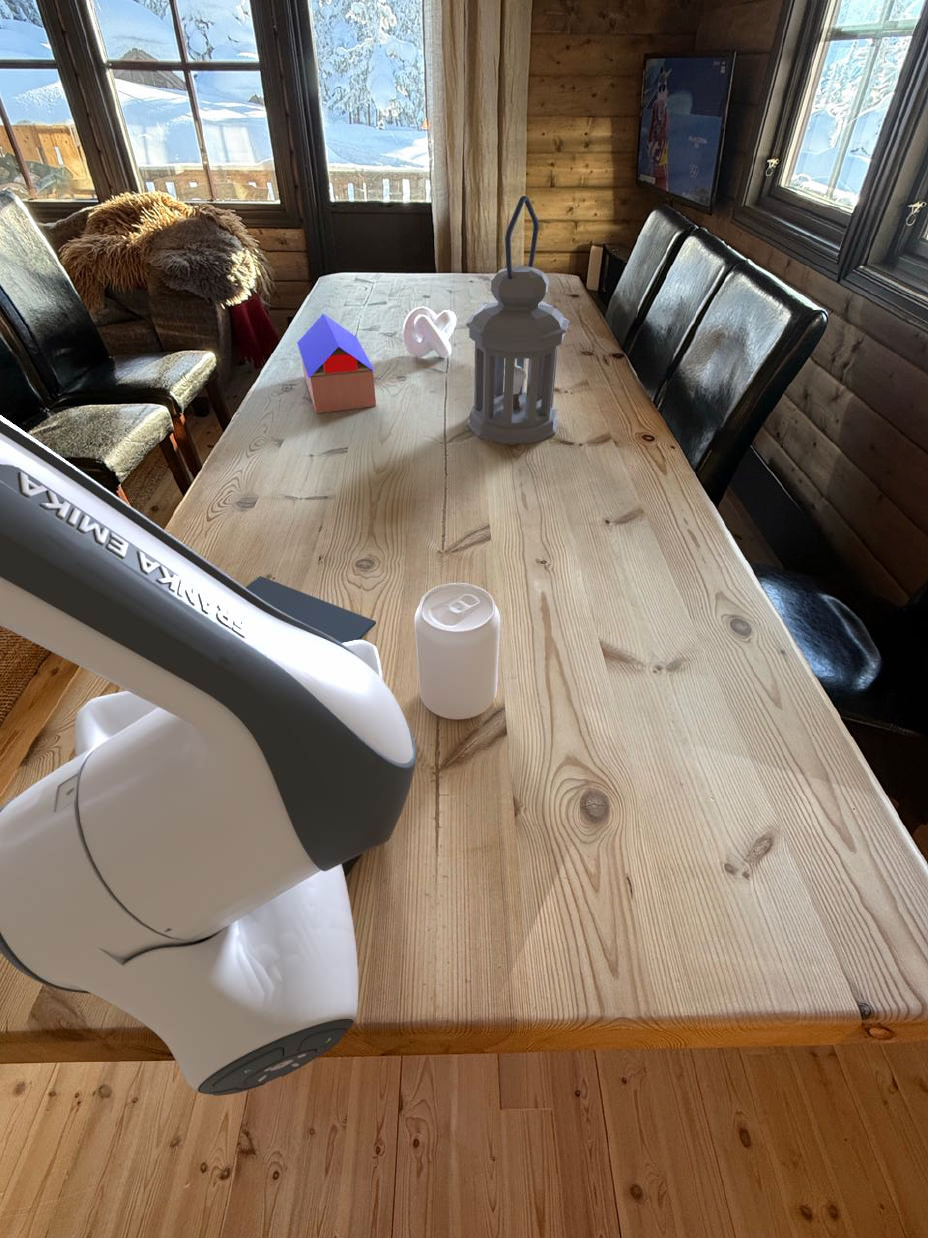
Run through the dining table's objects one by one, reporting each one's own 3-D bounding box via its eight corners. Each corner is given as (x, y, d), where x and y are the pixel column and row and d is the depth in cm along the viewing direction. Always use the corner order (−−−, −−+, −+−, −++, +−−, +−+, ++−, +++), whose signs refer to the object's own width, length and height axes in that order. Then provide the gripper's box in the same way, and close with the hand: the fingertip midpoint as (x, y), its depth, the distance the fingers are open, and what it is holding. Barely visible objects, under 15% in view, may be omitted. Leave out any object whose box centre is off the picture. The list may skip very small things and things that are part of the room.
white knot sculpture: (465, 361, 143) (465, 317, 137) (411, 366, 140) (409, 322, 134) (452, 344, 151) (451, 302, 145) (400, 349, 148) (398, 306, 142)
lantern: (485, 399, 127) (489, 184, 104) (569, 412, 122) (593, 190, 99) (452, 435, 115) (449, 201, 92) (544, 451, 111) (565, 209, 88)
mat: (272, 727, 66) (271, 724, 65) (147, 664, 72) (146, 662, 72) (376, 623, 78) (375, 621, 77) (260, 578, 84) (260, 575, 84)
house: (359, 369, 139) (353, 310, 131) (378, 406, 125) (372, 342, 117) (302, 375, 136) (292, 316, 129) (314, 414, 122) (304, 349, 114)
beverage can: (403, 692, 69) (396, 604, 61) (460, 655, 73) (459, 569, 66) (455, 736, 65) (454, 648, 57) (512, 695, 69) (518, 607, 61)
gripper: (409, 709, 41) (362, 582, 51) (50, 799, 36) (75, 638, 46) (413, 770, 45) (369, 641, 55) (92, 859, 40) (107, 699, 50)
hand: (233, 640), depth 51 cm, fingers closed on vase, 6 cm apart
